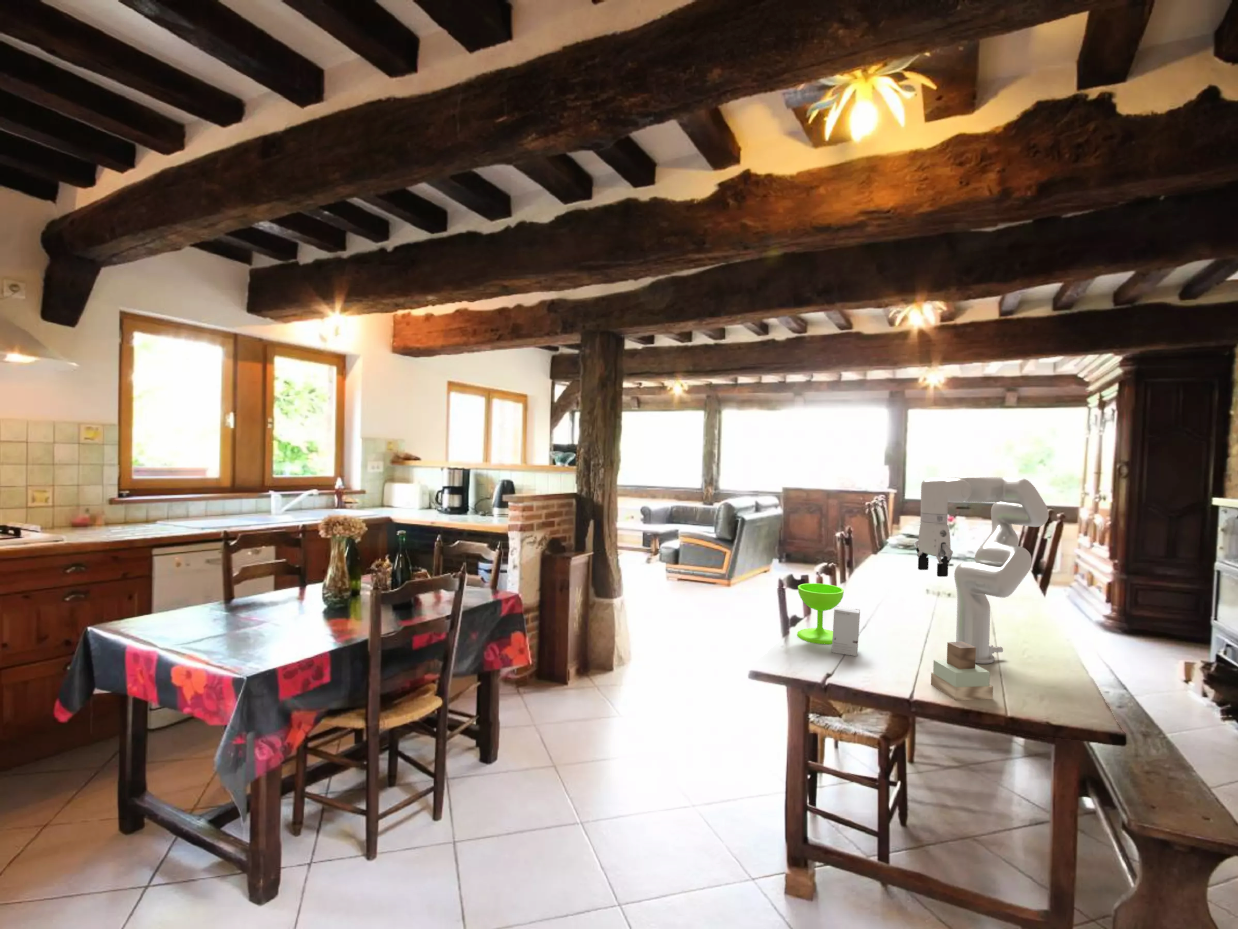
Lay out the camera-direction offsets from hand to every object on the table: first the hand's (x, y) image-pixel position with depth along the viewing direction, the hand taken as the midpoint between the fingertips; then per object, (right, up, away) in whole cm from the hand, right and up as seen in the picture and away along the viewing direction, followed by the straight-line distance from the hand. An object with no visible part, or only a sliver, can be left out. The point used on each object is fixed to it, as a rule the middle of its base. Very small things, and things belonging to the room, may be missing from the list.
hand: (932, 573), depth 188 cm
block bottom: (-1, -31, -17) cm, 36 cm away
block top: (-1, -27, -17) cm, 32 cm away
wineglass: (-25, -29, +31) cm, 49 cm away
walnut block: (-1, -23, -17) cm, 29 cm away
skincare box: (-22, -30, +15) cm, 40 cm away
